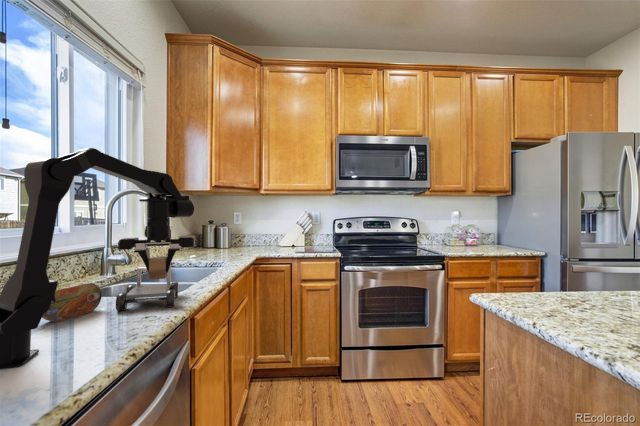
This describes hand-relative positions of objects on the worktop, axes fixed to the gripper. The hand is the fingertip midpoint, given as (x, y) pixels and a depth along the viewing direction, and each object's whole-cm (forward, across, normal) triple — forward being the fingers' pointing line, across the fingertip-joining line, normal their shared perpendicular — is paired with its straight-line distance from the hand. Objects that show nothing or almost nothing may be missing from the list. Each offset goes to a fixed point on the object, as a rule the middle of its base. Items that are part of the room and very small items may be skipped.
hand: (158, 272), depth 86 cm
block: (+1, 0, 0) cm, 1 cm away
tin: (+12, +22, -6) cm, 26 cm away
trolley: (+12, +4, -14) cm, 19 cm away
